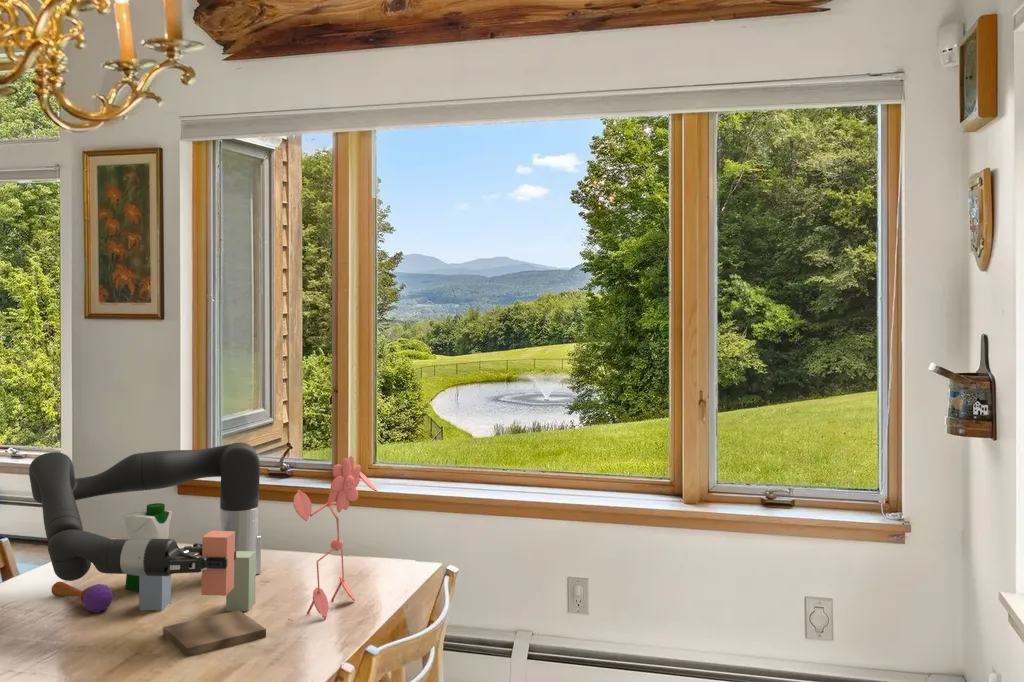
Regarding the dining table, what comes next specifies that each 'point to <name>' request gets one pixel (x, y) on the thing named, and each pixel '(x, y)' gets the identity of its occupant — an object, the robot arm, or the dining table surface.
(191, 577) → the dining table surface
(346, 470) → the figurine
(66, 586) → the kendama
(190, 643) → the walnut board
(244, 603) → the olive block
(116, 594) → the dining table surface
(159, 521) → the milk carton
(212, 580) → the red block
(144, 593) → the blue grey block
